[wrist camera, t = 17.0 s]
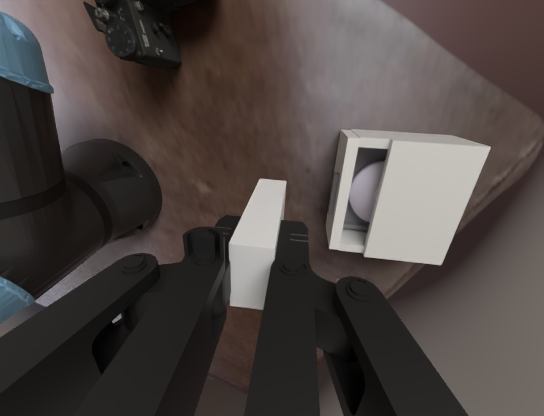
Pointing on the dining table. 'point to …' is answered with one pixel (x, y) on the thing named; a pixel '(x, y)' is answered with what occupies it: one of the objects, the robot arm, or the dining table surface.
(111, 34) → the camera
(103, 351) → the robot arm
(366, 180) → the lid
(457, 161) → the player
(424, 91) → the dining table surface
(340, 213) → the tray
